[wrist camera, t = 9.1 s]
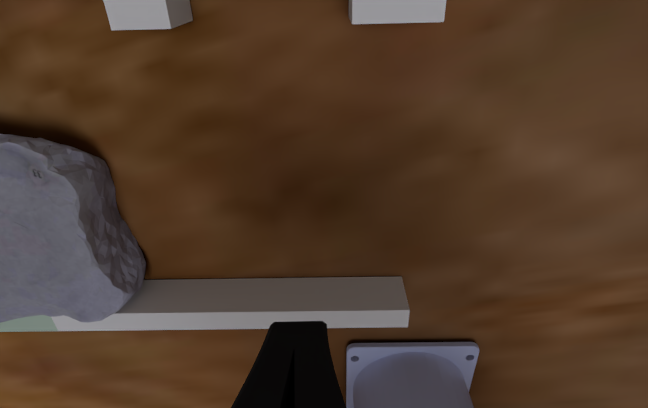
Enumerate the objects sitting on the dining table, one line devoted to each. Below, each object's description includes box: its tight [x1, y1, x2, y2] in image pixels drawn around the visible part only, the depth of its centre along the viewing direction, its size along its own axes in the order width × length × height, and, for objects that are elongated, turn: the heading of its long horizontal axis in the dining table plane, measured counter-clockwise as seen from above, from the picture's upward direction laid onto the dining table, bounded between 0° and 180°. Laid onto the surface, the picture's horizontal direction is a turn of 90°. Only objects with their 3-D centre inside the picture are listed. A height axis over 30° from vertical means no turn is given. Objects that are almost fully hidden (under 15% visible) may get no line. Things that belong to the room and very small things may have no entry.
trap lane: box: [0, 0, 446, 332], centre depth 16 cm, size 22×30×2 cm
